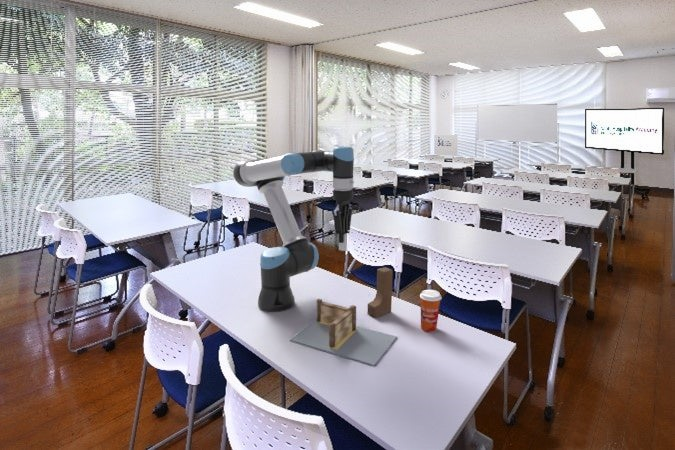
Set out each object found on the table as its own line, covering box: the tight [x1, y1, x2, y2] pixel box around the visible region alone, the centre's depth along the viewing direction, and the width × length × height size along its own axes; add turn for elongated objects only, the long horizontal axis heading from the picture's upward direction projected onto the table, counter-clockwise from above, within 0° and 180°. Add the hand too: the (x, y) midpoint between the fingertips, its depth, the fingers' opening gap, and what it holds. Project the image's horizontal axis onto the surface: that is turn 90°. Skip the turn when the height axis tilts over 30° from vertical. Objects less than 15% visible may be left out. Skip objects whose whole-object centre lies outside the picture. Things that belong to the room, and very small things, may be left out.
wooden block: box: [366, 266, 394, 318], centre depth 163 cm, size 9×4×18 cm, turn 125°
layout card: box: [289, 318, 398, 367], centre depth 146 cm, size 32×20×1 cm, turn 62°
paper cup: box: [419, 289, 443, 333], centre depth 152 cm, size 8×8×14 cm
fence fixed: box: [316, 298, 357, 331], centre depth 154 cm, size 16×2×9 cm, turn 62°
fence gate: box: [329, 310, 352, 347], centre depth 144 cm, size 14×2×8 cm, turn 148°
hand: (342, 249), depth 159 cm, fingers closed
